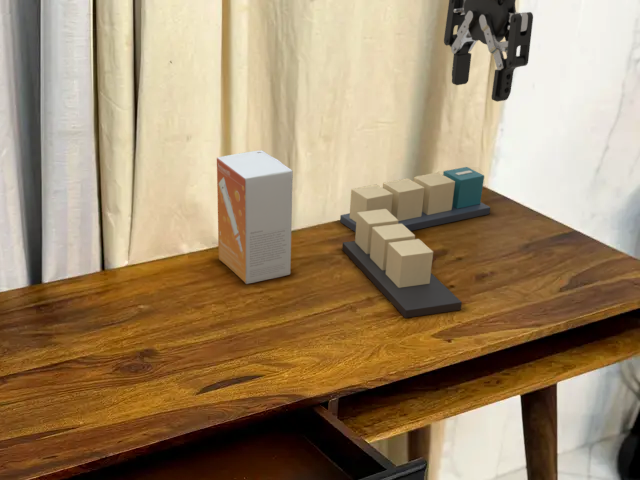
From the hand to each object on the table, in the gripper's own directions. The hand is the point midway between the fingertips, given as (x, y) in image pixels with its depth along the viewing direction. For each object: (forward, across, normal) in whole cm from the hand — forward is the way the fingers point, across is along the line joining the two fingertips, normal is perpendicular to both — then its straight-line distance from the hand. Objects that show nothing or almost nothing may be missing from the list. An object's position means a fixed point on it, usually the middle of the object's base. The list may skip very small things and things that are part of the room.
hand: (479, 91), depth 128 cm
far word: (+16, -1, -8) cm, 18 cm away
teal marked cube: (+15, -1, 0) cm, 15 cm away
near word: (+16, +14, -20) cm, 30 cm away
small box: (+16, +4, -35) cm, 39 cm away
